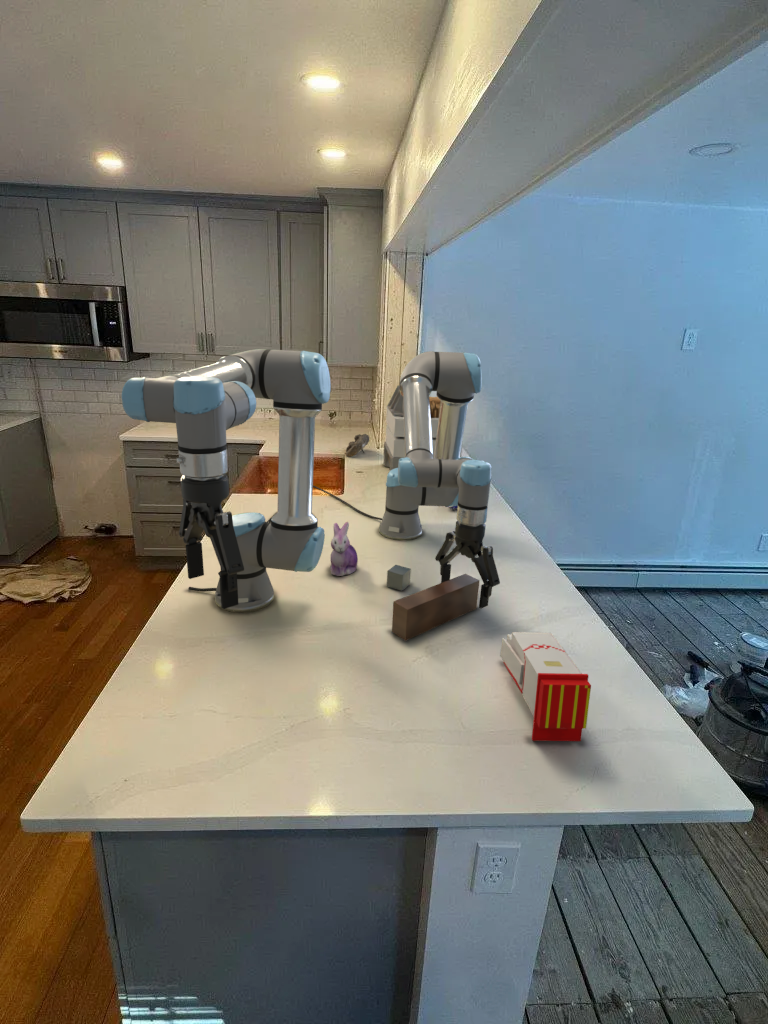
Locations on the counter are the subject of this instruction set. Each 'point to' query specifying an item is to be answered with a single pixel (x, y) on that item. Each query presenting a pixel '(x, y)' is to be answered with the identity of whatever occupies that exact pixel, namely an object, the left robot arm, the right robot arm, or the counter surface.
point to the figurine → (342, 552)
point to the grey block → (398, 577)
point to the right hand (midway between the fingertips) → (463, 596)
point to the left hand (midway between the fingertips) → (212, 590)
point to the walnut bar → (434, 606)
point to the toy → (548, 685)
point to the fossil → (357, 445)
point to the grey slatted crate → (395, 428)
